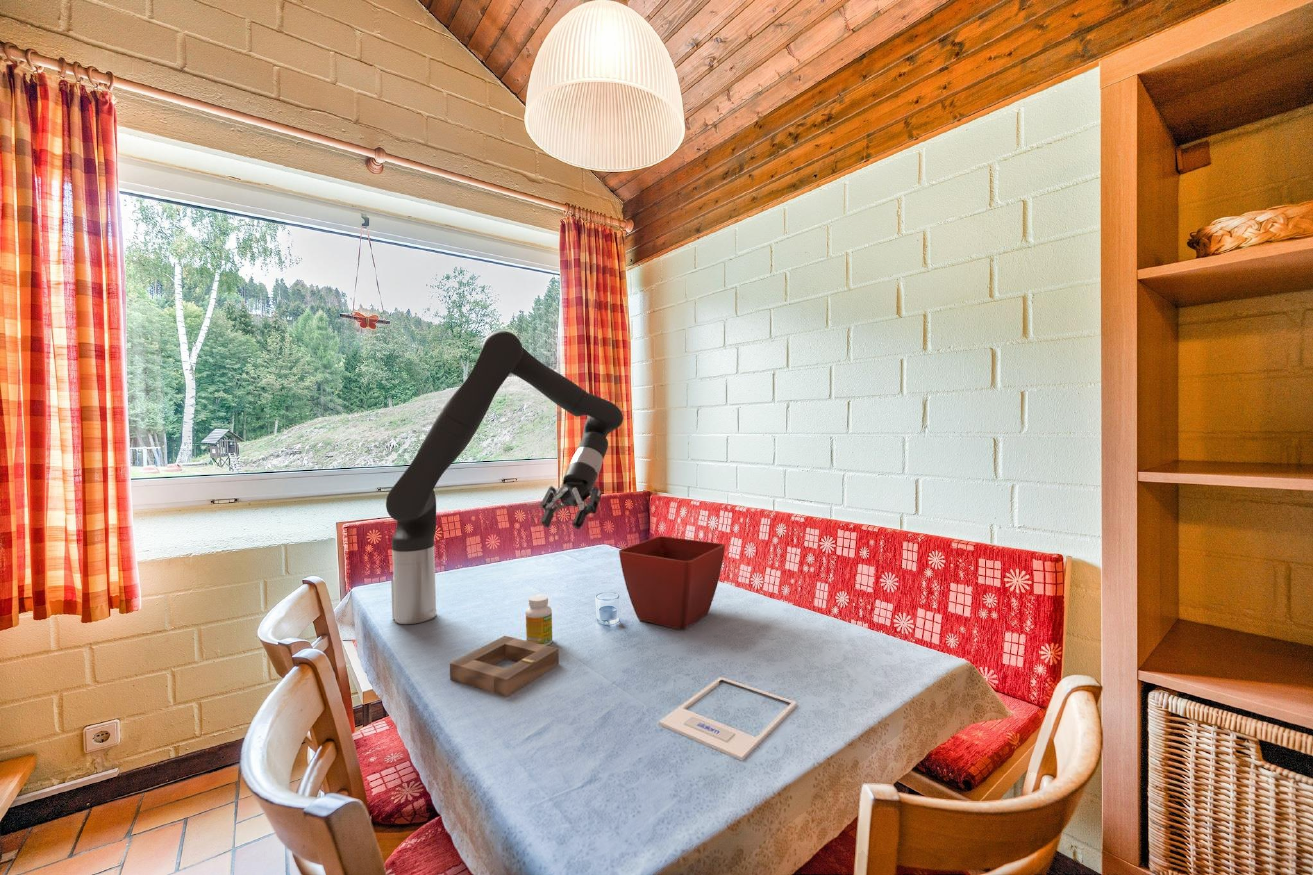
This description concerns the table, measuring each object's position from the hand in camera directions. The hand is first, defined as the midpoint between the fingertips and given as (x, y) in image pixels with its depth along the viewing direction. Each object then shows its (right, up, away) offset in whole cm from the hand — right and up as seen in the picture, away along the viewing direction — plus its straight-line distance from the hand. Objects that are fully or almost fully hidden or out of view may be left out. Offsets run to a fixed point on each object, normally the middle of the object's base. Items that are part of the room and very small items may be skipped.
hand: (560, 526), depth 124 cm
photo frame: (+34, -24, -37) cm, 56 cm away
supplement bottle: (-3, -24, -8) cm, 25 cm away
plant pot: (+26, -23, +5) cm, 35 cm away
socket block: (-7, -24, -21) cm, 33 cm away
